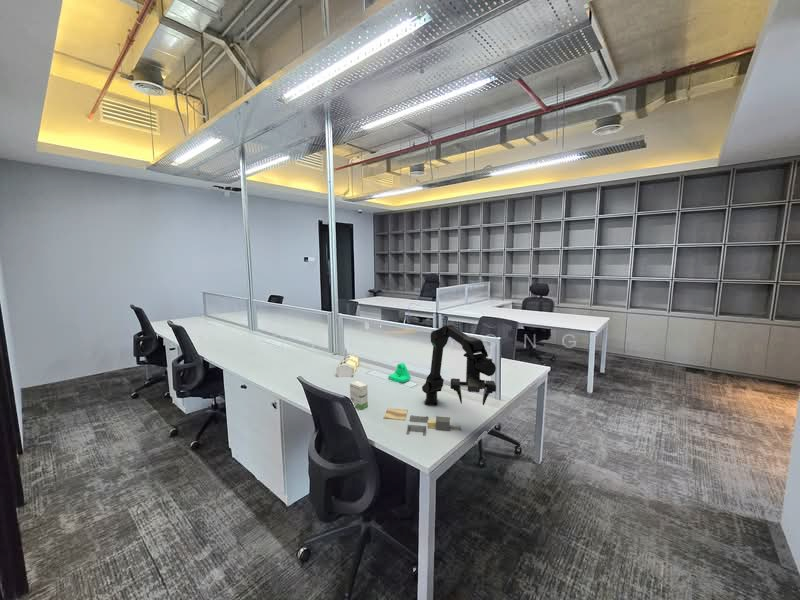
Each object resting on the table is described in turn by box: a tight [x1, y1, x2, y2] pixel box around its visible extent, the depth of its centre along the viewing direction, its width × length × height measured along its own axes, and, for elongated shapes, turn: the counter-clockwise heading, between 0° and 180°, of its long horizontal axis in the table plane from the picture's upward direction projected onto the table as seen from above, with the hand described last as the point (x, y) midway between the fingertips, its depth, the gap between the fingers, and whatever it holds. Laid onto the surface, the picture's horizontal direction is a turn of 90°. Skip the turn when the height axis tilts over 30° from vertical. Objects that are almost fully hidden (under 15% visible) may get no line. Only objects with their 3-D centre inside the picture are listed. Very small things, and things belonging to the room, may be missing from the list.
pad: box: [383, 408, 408, 421], centre depth 156 cm, size 10×10×1 cm
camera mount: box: [388, 362, 411, 384], centre depth 201 cm, size 12×8×10 cm, turn 49°
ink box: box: [349, 380, 369, 411], centre depth 164 cm, size 9×5×12 cm, turn 47°
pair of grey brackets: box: [406, 414, 429, 436], centre depth 145 cm, size 16×8×2 cm, turn 171°
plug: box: [427, 415, 462, 432], centre depth 143 cm, size 4×14×4 cm, turn 81°
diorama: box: [336, 348, 360, 378], centre depth 218 cm, size 25×10×13 cm, turn 178°
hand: (472, 404), depth 140 cm, fingers open, 9 cm apart
